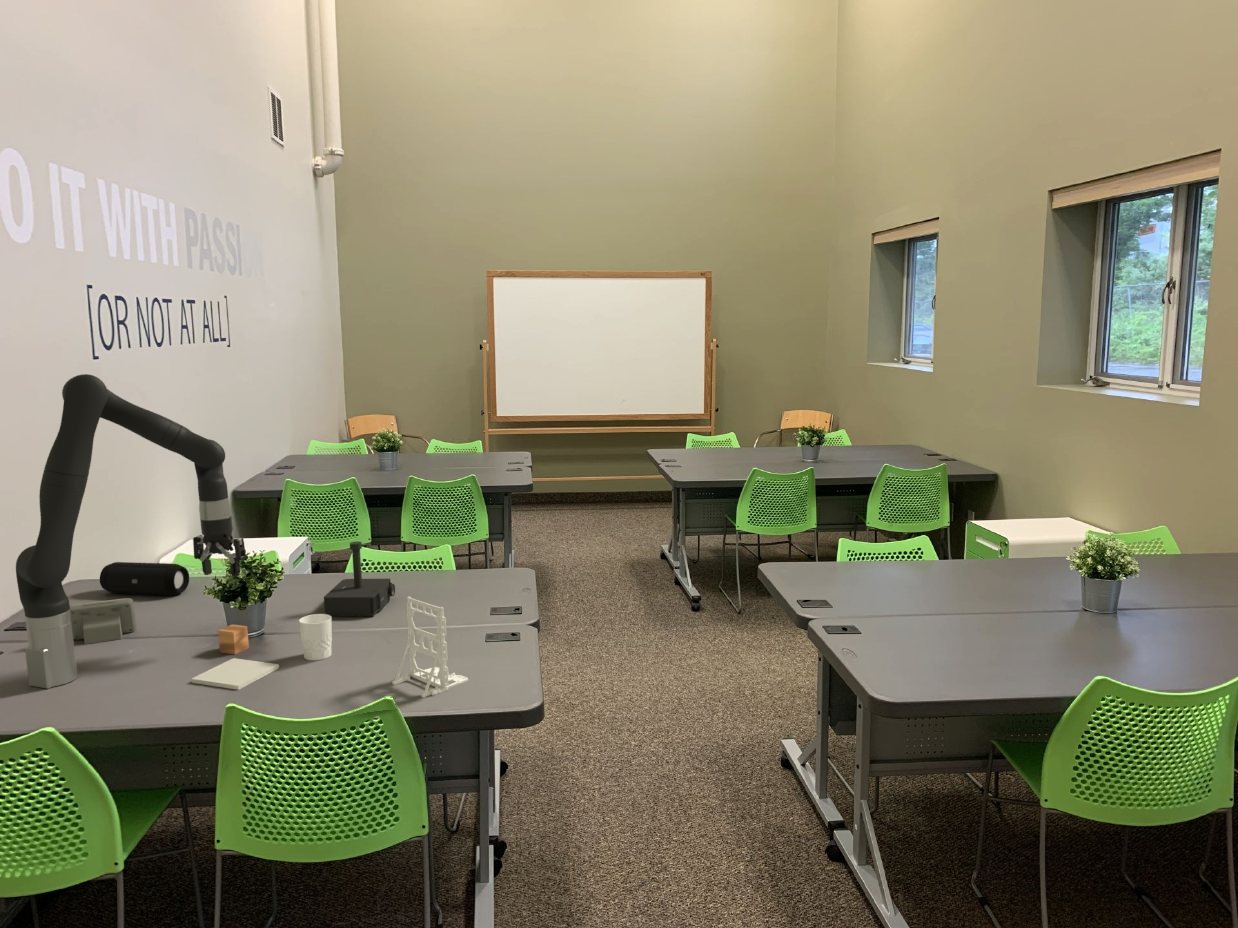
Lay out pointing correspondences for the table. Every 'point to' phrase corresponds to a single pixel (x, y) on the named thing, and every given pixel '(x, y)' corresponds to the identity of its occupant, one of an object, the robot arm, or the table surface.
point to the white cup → (316, 636)
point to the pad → (235, 673)
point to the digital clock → (103, 620)
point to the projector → (358, 592)
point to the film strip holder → (428, 652)
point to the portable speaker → (144, 578)
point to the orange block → (233, 639)
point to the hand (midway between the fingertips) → (222, 575)
